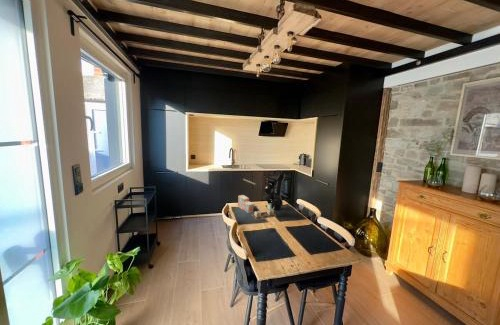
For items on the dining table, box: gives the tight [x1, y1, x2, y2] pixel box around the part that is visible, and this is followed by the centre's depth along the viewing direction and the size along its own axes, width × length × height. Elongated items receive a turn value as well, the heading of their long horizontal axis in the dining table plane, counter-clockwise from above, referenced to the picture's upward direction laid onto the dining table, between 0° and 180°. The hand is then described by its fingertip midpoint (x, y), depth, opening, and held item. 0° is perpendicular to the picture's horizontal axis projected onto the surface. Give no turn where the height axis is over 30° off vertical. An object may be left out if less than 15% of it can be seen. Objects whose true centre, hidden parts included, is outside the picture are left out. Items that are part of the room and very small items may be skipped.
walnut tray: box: [251, 211, 277, 221], centre depth 189 cm, size 22×11×2 cm, turn 116°
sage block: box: [266, 202, 274, 211], centre depth 183 cm, size 4×4×4 cm
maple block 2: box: [266, 208, 275, 215], centre depth 192 cm, size 4×4×4 cm
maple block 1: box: [253, 210, 262, 217], centre depth 186 cm, size 4×4×4 cm
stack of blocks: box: [237, 194, 255, 214], centre depth 203 cm, size 21×6×12 cm, turn 31°
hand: (270, 207), depth 184 cm, fingers closed on sage block, 4 cm apart
